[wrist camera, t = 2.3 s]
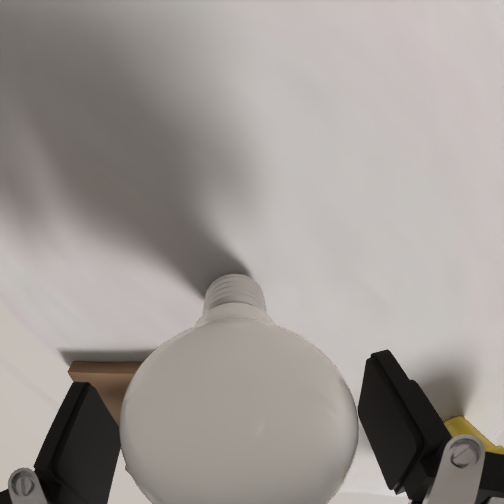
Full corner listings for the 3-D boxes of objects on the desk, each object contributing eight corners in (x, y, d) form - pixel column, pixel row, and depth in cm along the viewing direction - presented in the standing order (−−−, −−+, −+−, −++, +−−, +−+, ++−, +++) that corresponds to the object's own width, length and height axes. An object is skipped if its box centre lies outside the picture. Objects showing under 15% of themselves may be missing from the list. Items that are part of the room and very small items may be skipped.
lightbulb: (156, 323, 15) (100, 530, 5) (190, 208, 13) (83, 449, 2) (269, 355, 16) (301, 551, 6) (322, 255, 14) (449, 468, 4)
